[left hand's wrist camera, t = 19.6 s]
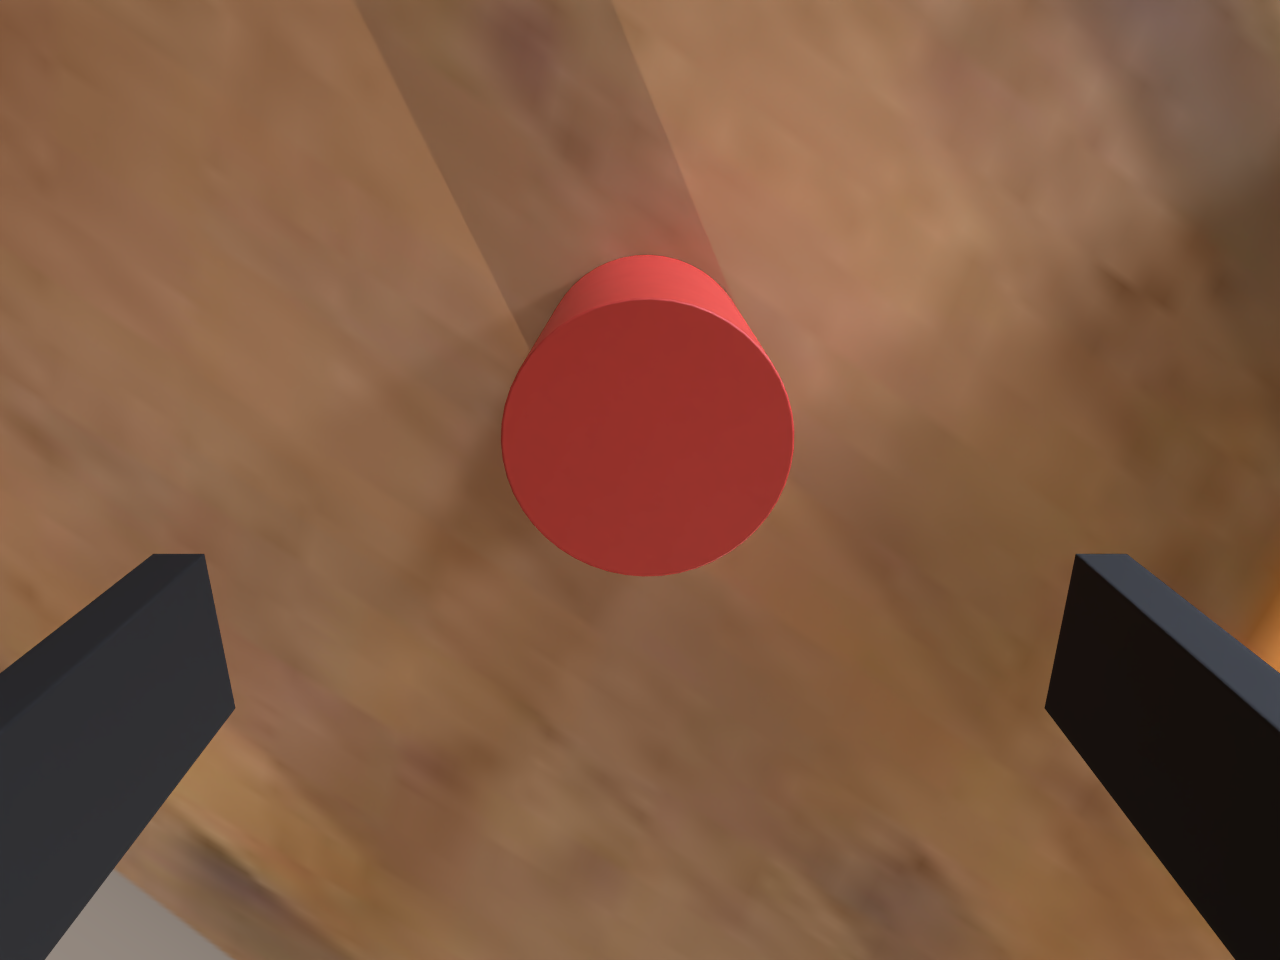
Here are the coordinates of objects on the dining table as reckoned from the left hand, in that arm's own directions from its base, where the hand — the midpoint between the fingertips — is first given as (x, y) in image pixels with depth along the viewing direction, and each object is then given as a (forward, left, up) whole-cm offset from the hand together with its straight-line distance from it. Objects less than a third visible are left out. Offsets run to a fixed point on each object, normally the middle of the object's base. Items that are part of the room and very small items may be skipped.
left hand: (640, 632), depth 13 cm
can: (0, 0, -18) cm, 18 cm away
